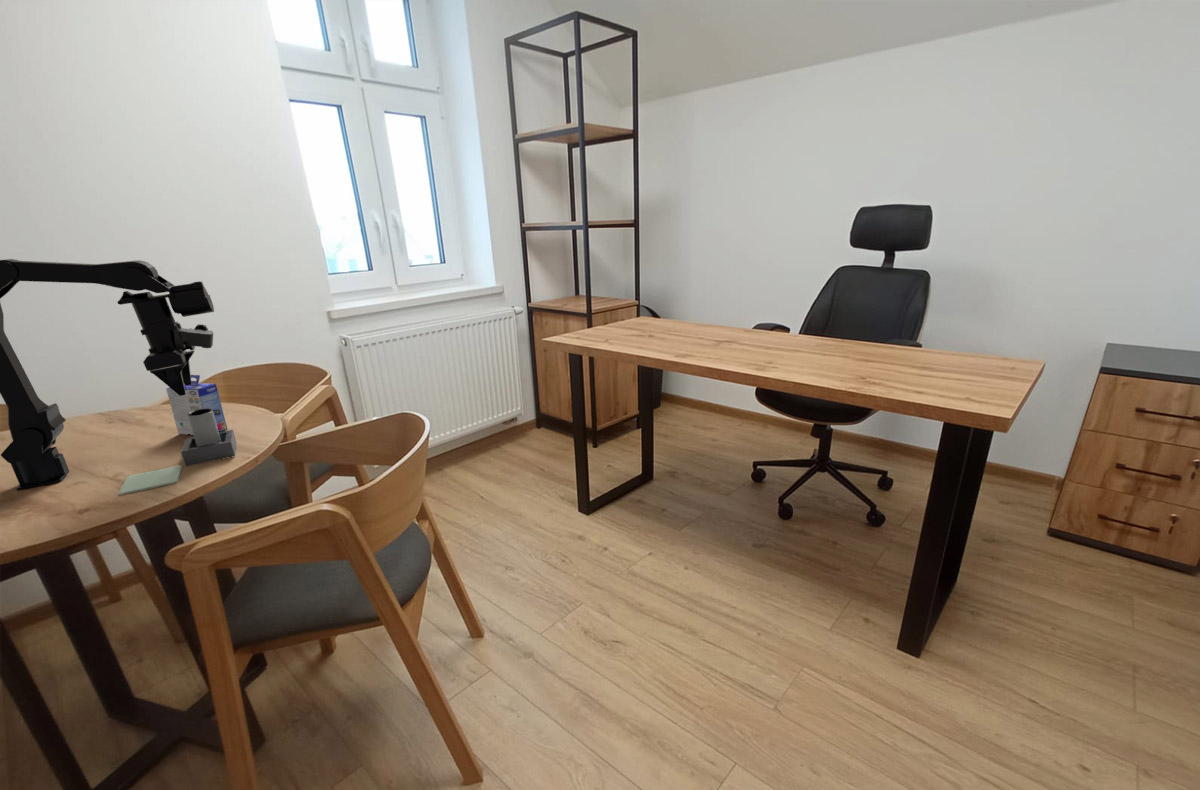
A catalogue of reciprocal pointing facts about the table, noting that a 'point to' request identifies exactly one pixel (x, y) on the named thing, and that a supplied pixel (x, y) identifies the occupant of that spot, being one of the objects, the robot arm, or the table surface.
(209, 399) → the ink cartridge box
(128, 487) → the mat
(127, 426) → the table surface
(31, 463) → the robot arm
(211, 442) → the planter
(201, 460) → the collar
